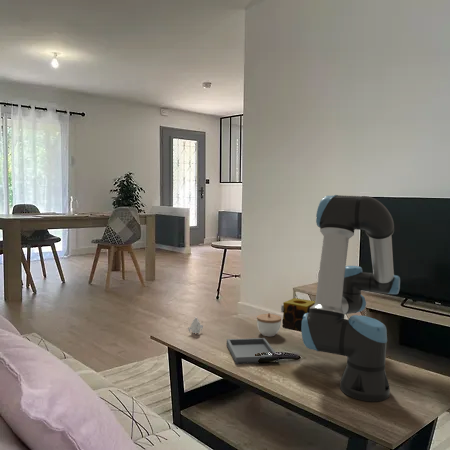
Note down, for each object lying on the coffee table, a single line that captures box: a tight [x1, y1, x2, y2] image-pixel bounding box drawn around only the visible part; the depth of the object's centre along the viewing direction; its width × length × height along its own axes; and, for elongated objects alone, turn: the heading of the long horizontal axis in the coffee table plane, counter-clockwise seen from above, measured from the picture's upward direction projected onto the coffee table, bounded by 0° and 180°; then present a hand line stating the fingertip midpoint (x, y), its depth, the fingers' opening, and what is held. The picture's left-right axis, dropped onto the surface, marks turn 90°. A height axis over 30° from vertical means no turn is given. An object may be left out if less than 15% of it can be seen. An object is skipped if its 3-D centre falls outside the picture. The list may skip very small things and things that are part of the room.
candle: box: [281, 297, 315, 333], centre depth 169 cm, size 10×10×10 cm
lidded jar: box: [256, 313, 282, 337], centre depth 197 cm, size 11×11×9 cm
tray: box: [226, 337, 279, 365], centre depth 173 cm, size 20×16×2 cm
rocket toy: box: [187, 316, 204, 335], centre depth 195 cm, size 5×5×8 cm
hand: (292, 313), depth 167 cm, fingers closed on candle, 13 cm apart
